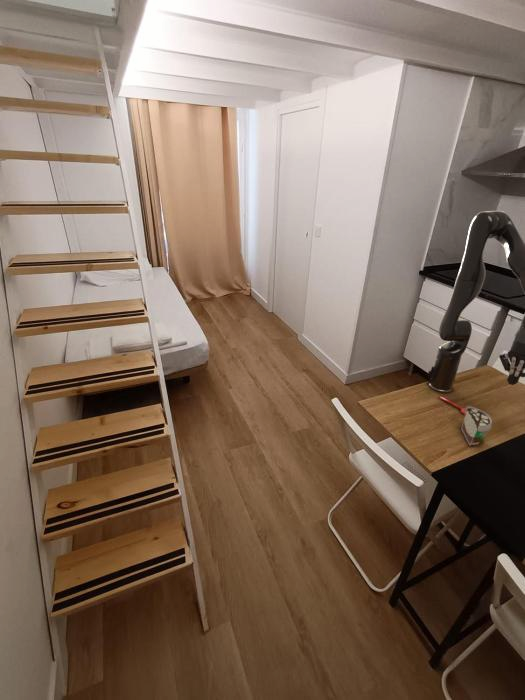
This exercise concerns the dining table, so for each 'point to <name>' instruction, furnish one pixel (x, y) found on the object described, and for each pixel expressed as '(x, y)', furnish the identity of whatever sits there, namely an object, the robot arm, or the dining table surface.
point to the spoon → (463, 410)
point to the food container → (475, 425)
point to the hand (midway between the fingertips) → (511, 383)
